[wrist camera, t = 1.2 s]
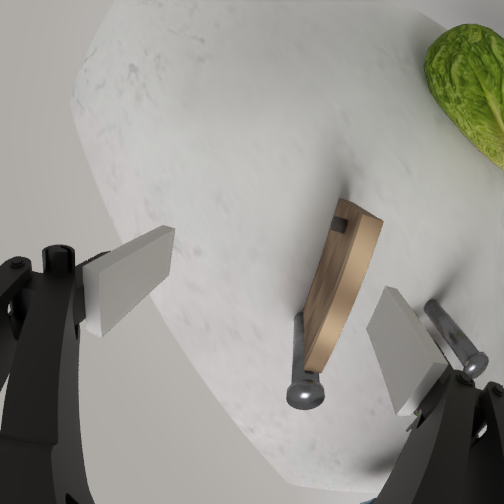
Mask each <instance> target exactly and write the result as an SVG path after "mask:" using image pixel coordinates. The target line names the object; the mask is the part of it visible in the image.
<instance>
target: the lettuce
mask: <svg viewBox="0 0 504 504" xmlns="http://www.w3.org/2000/svg"><path fill="white" fill-rule="evenodd" d="M424 70H425V73H426V77H427V81H428V85H429V89H430V92H431V94H432V95H433V96H434V98H435V99H436V101H437V102H438V104H439V105H440V107H441V108H442V109H443V110H444V112H445V113H446V114H447V115H448V116H449V118H450V119H451V120H452V121H453V122H454V124H455V125H456V126H457V127H458V128H459V130H460V131H461V132H462V133H463V134H464V135H465V136H466V137H467V138H468V139H469V140H470V141H471V142H472V143H473V144H474V146H475V147H476V148H477V149H478V150H479V151H480V152H482V153H483V154H484V155H485V156H486V157H487V158H488V159H489V160H491V161H492V162H493V163H494V164H495V165H497V166H498V167H499V168H501V169H502V170H503V171H504V39H503V38H502V37H501V36H499V35H498V34H497V33H496V32H494V31H493V30H492V29H490V28H488V27H484V26H481V25H477V24H463V25H460V26H456V27H454V28H452V29H450V30H448V31H447V32H445V33H443V34H442V35H441V36H440V37H439V38H438V39H437V40H435V42H434V43H433V44H432V45H431V46H430V47H429V49H428V53H427V56H426V60H425V64H424Z"/></svg>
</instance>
